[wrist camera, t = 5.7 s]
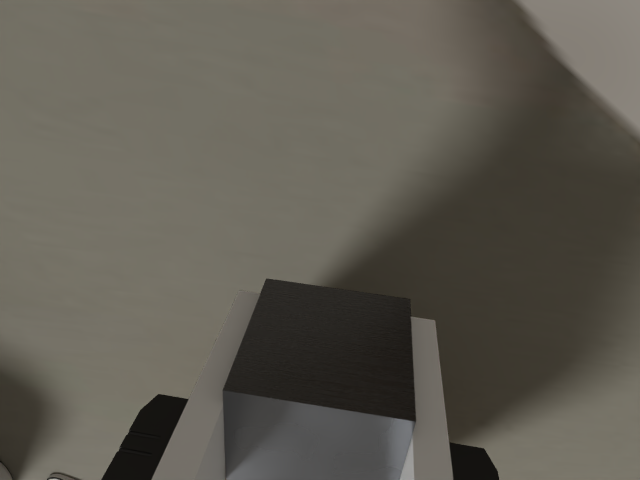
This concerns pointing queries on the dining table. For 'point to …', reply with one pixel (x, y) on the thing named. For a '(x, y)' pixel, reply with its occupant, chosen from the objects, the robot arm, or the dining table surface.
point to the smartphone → (59, 477)
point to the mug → (4, 473)
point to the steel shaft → (321, 387)
